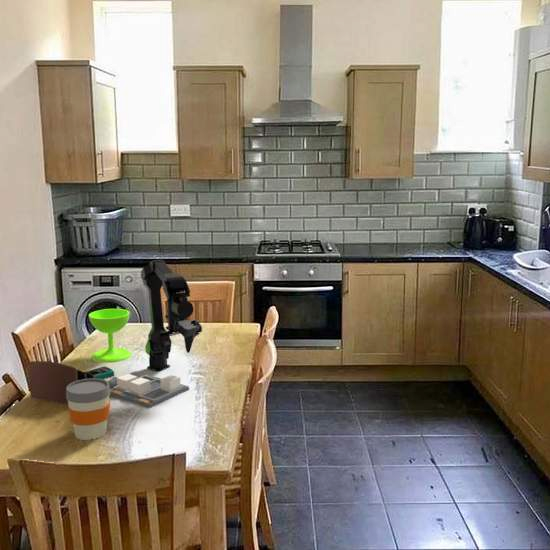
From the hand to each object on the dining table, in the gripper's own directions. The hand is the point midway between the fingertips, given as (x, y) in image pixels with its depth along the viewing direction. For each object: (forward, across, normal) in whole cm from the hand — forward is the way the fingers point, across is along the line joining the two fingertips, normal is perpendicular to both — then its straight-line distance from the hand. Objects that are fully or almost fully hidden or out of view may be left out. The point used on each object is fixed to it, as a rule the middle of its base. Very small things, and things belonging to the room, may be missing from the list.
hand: (177, 355), depth 216 cm
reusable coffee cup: (+13, -40, -9) cm, 43 cm away
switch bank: (+12, -9, +5) cm, 16 cm away
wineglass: (+10, +3, +48) cm, 49 cm away
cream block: (+11, -13, +4) cm, 18 cm away
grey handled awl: (+11, -18, +17) cm, 27 cm away
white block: (+10, -14, +11) cm, 21 cm away
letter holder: (+12, -32, +23) cm, 41 cm away
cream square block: (+11, -4, -1) cm, 12 cm away
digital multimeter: (+12, -16, +31) cm, 37 cm away
